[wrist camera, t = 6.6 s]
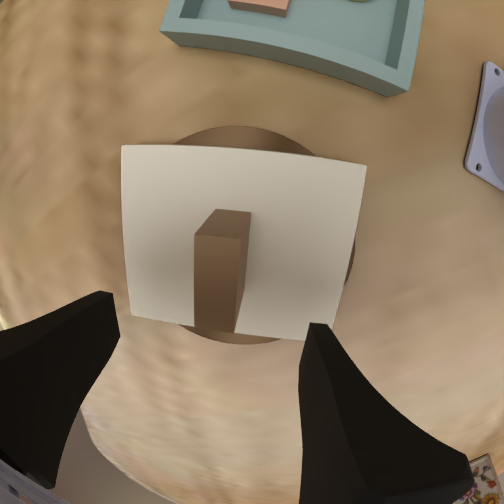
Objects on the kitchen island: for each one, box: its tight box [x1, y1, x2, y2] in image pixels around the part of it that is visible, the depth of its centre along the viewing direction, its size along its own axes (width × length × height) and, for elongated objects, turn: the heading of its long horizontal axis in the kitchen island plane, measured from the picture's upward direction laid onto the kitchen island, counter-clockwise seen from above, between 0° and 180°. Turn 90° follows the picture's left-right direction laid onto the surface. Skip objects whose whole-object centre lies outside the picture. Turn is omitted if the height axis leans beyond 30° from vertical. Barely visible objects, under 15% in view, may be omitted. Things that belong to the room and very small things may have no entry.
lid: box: [121, 144, 367, 341], centre depth 15 cm, size 13×11×6 cm
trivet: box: [173, 126, 355, 344], centre depth 18 cm, size 14×14×1 cm
